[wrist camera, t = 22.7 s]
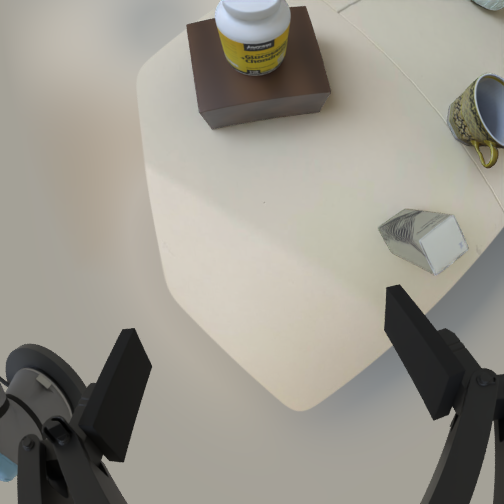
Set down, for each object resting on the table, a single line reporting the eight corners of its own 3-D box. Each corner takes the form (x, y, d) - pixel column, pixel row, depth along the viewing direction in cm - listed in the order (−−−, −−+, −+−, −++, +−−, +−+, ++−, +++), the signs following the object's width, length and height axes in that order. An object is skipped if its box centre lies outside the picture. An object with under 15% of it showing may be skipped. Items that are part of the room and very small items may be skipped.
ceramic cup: (441, 81, 36) (476, 59, 26) (489, 110, 36) (527, 97, 26) (428, 158, 38) (468, 149, 28) (479, 184, 38) (521, 182, 28)
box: (404, 207, 39) (455, 210, 26) (419, 235, 39) (472, 248, 26) (375, 228, 39) (418, 240, 27) (390, 256, 40) (436, 277, 27)
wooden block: (211, 129, 38) (199, 112, 31) (199, 52, 37) (186, 24, 29) (319, 112, 37) (331, 92, 30) (299, 36, 36) (305, 5, 28)
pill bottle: (231, 83, 30) (215, 29, 18) (220, 36, 29) (202, -26, 18) (292, 72, 29) (303, 14, 18) (277, 25, 29) (281, -39, 17)
